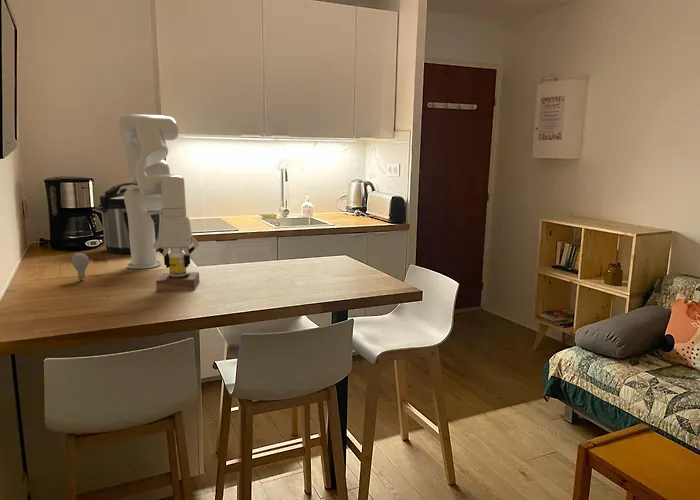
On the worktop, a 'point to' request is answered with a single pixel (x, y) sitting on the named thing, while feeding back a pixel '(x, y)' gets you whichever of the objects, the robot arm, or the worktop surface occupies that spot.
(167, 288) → the socket block
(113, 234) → the pressure cooker
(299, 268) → the worktop surface
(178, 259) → the supplement bottle
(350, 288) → the worktop surface
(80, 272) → the light bulb
